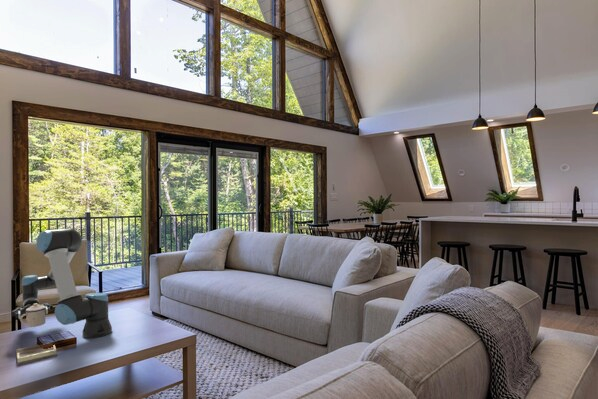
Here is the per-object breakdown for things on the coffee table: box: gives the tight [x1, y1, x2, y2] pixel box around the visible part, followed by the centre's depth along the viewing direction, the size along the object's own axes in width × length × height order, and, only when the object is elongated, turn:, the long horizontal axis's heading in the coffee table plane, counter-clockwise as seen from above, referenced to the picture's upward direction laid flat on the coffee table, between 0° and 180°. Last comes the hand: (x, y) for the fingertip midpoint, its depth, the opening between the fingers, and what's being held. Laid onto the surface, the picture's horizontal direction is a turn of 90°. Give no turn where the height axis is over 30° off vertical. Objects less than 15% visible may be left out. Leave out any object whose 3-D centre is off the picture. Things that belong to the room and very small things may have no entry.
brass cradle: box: [16, 344, 58, 363], centre depth 187 cm, size 8×16×2 cm, turn 128°
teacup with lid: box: [19, 303, 47, 328], centre depth 207 cm, size 12×9×12 cm
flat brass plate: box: [15, 344, 58, 366], centre depth 192 cm, size 20×16×1 cm
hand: (33, 313), depth 204 cm, fingers closed on teacup with lid, 11 cm apart
